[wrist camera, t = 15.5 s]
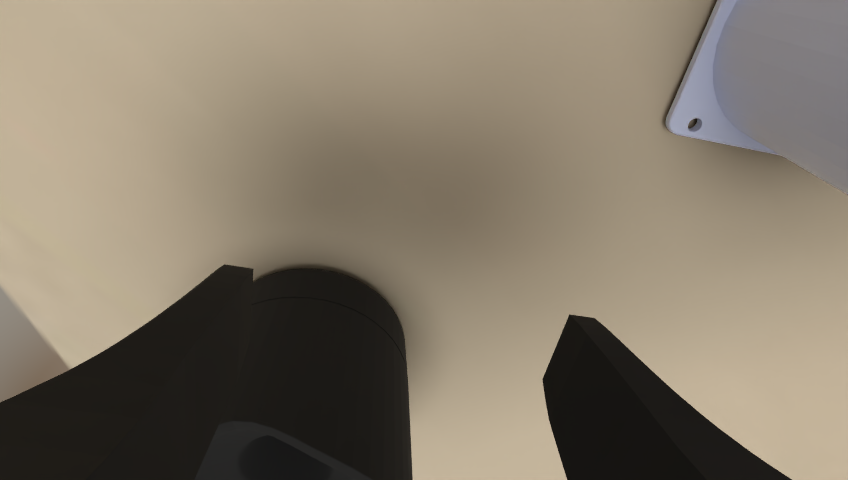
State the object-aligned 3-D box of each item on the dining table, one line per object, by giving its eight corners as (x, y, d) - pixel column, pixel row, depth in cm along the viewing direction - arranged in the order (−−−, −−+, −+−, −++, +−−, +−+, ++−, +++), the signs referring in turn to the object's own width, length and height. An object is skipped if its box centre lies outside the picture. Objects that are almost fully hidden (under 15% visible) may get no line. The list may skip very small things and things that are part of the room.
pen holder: (270, 218, 22) (182, 399, 14) (451, 317, 25) (474, 518, 16) (184, 360, 26) (71, 572, 17) (349, 432, 29) (324, 645, 20)
